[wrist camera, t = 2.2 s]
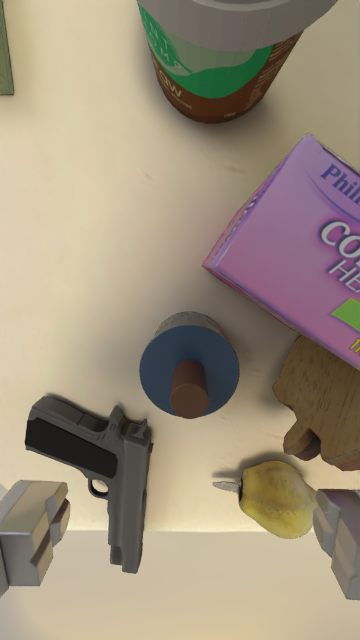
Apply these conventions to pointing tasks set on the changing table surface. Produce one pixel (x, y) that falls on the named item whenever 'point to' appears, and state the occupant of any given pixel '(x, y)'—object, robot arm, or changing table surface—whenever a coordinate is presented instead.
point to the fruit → (275, 498)
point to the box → (301, 248)
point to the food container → (223, 50)
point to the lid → (189, 370)
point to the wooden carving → (321, 405)
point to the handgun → (100, 466)
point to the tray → (4, 59)
